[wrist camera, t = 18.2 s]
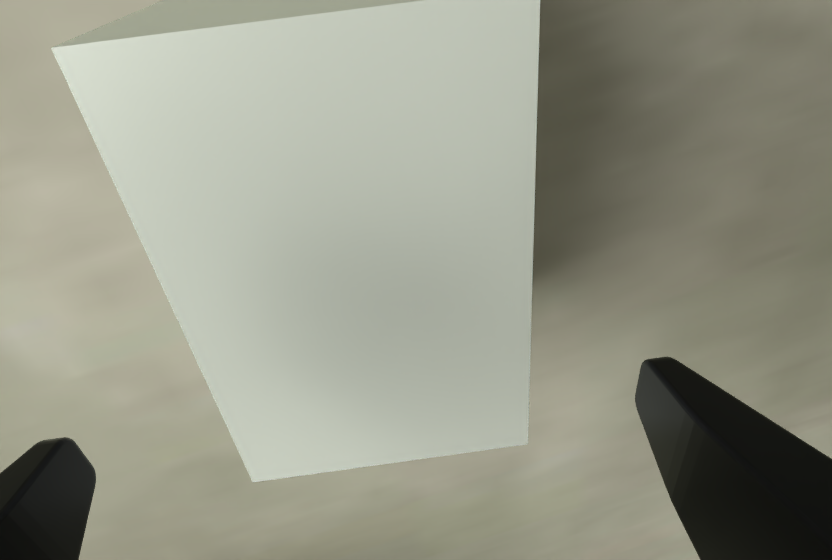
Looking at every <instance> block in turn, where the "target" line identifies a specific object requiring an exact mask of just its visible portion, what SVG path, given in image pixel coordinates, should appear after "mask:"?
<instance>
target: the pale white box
mask: <svg viewBox="0 0 832 560" xmlns="http://www.w3.org/2000/svg"><path fill="white" fill-rule="evenodd" d="M539 27H540V0H162V1H160V2H158V3H155V4H153V5H150V6H148V7H146V8H143V9H141V10H139V11H136V12H134V13H132V14H129V15H127V16H125V17H122V18H120V19H118V20H115V21H113V22H111V23H108V24H106V25H104V26H101V27H99V28H96V29H94V30H92V31H89V32H87V33H85V34H82V35H80V36H78V37H75V38H73V39H71V40H68V41H66V42H64V43H61V44H59V45H57V46H54V47H52V48H51V49H52V51H53V53H54V55H55V57H56V59H57V62H58V64H59V66H60V68H61V70H62V72H63V75H64V77H65V79H66V81H67V83H68V85H69V87H70V90H71V92H72V94H73V96H74V98H75V100H76V103H77V105H78V107H79V109H80V111H81V113H82V115H83V118H84V120H85V122H86V124H87V126H88V128H89V131H90V133H91V135H92V137H93V139H94V141H95V143H96V146H97V148H98V150H99V152H100V154H101V156H102V159H103V161H104V163H105V165H106V167H107V169H108V171H109V174H110V176H111V178H112V180H113V182H114V184H115V187H116V189H117V191H118V193H119V195H120V197H121V199H122V202H123V204H124V206H125V208H126V210H127V212H128V215H129V217H130V219H131V221H132V223H133V225H134V227H135V230H136V232H137V234H138V236H139V238H140V240H141V243H142V245H143V247H144V249H145V251H146V253H147V255H148V258H149V260H150V262H151V264H152V266H153V268H154V271H155V273H156V275H157V277H158V279H159V281H160V283H161V286H162V288H163V290H164V292H165V294H166V296H167V298H168V301H169V303H170V305H171V307H172V309H173V311H174V314H175V316H176V318H177V320H178V322H179V324H180V326H181V329H182V331H183V333H184V335H185V337H186V339H187V342H188V344H189V346H190V348H191V350H192V352H193V354H194V357H195V359H196V361H197V363H198V365H199V367H200V370H201V372H202V374H203V376H204V378H205V380H206V382H207V385H208V387H209V389H210V391H211V393H212V395H213V398H214V400H215V402H216V404H217V406H218V408H219V410H220V413H221V415H222V417H223V419H224V421H225V423H226V426H227V428H228V430H229V432H230V434H231V436H232V438H233V441H234V443H235V445H236V447H237V449H238V451H239V454H240V456H241V458H242V460H243V462H244V464H245V466H246V469H247V471H248V473H249V475H250V477H251V479H252V482H259V481H266V480H273V479H280V478H287V477H295V476H302V475H309V474H316V473H324V472H331V471H338V470H345V469H352V468H360V467H367V466H374V465H381V464H388V463H396V462H403V461H410V460H417V459H425V458H432V457H439V456H446V455H453V454H461V453H468V452H475V451H482V450H490V449H497V448H504V447H511V446H518V445H526V444H528V421H529V385H530V349H531V314H532V278H533V242H534V206H535V170H536V135H537V99H538V63H539Z"/></svg>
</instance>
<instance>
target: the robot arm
mask: <svg viewBox="0 0 832 560" xmlns="http://www.w3.org/2000/svg"><path fill="white" fill-rule="evenodd" d="M635 402H636V407H637V411H638V413H639V416H640V419H641V421H642V424H643V427H644V430H645V432H646V435H647V438H648V440H649V443H650V446H651V448H652V451H653V454H654V456H655V459H656V462H657V465H658V467H659V470H660V473H661V475H662V478H663V481H664V483H665V486H666V488H667V491H668V493H669V496H670V498H671V501H672V503H673V505H674V507H675V509H676V511H677V514H678V516H679V518H680V520H681V522H682V524H683V526H684V528H685V530H686V532H687V534H688V536H689V538H690V540H691V542H692V544H693V546H694V548H695V550H696V552H697V554H698V556H699V558H700V560H832V459H831V458H829V457H828V456H826V455H825V454H823V453H821V452H820V451H818V450H817V449H815V448H814V447H812V446H810V445H809V444H807V443H806V442H804V441H803V440H801V439H799V438H798V437H796V436H795V435H793V434H792V433H790V432H788V431H787V430H785V429H784V428H782V427H781V426H779V425H777V424H776V423H774V422H773V421H771V420H770V419H768V418H766V417H765V416H763V415H762V414H760V413H759V412H757V411H756V410H754V409H752V408H751V407H749V406H748V405H746V404H745V403H743V402H741V401H740V400H738V399H737V398H735V397H734V396H732V395H730V394H729V393H727V392H726V391H724V390H723V389H721V388H719V387H718V386H716V385H715V384H713V383H712V382H710V381H708V380H707V379H705V378H704V377H702V376H701V375H699V374H697V373H696V372H694V371H693V370H691V369H690V368H688V367H686V366H685V365H683V364H682V363H680V362H679V361H677V360H675V359H673V358H671V357H661V358H653V359H647V360H645V361H644V362H643V363H642V365H641V369H640V374H639V379H638V384H637V389H636V394H635ZM95 483H96V474H95V470H94V468H93V466H92V465H91V463H90V462H89V460H88V459H87V458H86V456H85V455H84V454H83V452H82V451H81V450H80V448H79V447H78V446H77V444H76V443H75V442H74V441H73V440H72V439H70V438H66V437H64V438H56V439H49V440H43V441H40V442H38V443H37V444H35V445H34V446H33V447H32V448H30V449H29V450H28V451H27V452H26V453H24V454H23V455H22V456H21V457H19V458H18V459H17V460H16V461H15V462H13V463H12V464H11V465H10V466H9V467H7V468H6V469H5V470H4V471H3V472H1V473H0V560H78V559H79V555H80V550H81V546H82V541H83V537H84V533H85V528H86V524H87V519H88V515H89V511H90V506H91V502H92V497H93V493H94V489H95Z"/></svg>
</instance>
